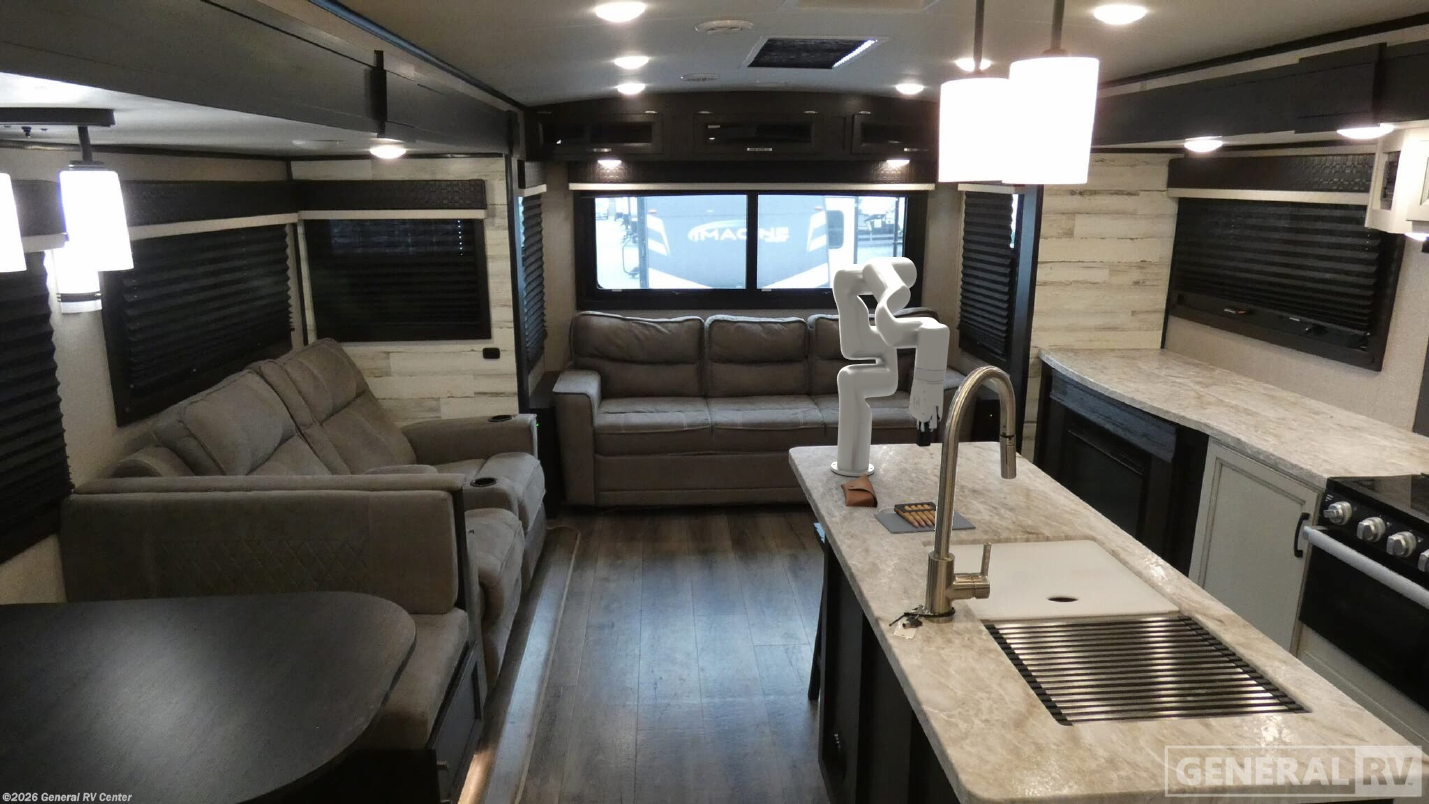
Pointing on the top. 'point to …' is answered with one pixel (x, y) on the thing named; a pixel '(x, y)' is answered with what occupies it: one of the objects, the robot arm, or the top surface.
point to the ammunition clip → (917, 513)
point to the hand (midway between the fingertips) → (923, 445)
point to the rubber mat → (902, 525)
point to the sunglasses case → (860, 493)
